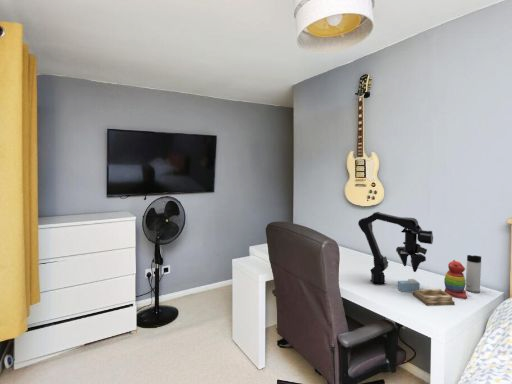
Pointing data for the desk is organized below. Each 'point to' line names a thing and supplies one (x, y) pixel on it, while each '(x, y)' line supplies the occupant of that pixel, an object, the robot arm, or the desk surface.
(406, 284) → the blue slab
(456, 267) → the stacking bear
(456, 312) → the desk surface
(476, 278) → the travel mug
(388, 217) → the robot arm
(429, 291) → the jig
